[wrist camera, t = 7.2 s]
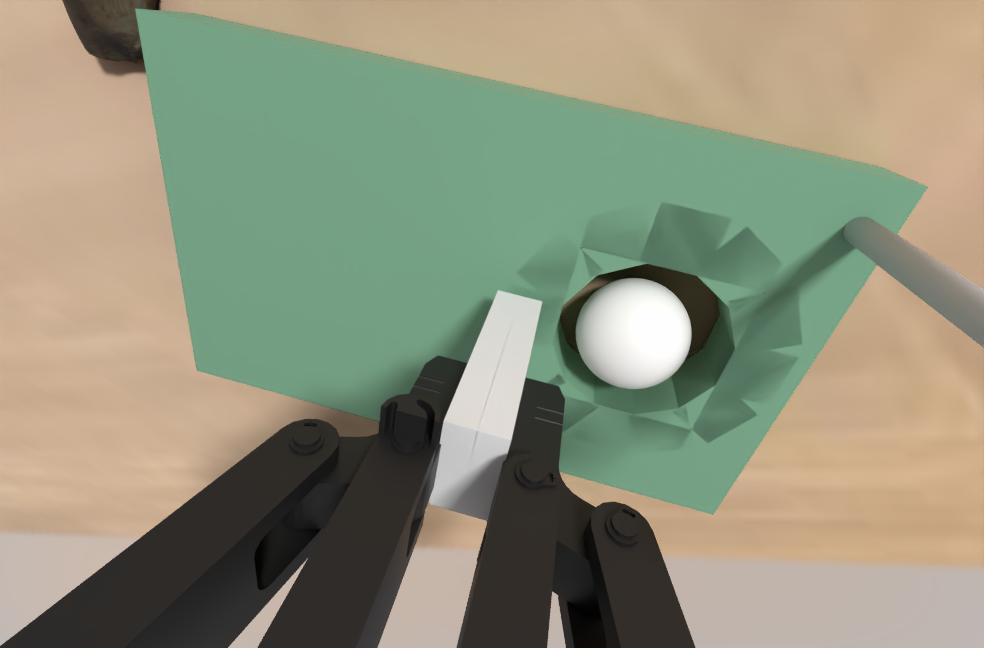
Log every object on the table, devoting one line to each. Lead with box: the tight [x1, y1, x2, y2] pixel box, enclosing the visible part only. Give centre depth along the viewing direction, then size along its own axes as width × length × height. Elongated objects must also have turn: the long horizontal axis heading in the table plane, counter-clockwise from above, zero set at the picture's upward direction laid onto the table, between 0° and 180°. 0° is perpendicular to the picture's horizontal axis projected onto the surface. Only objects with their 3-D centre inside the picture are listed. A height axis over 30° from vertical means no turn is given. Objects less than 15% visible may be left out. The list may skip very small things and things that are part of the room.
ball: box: [576, 278, 692, 389], centre depth 18 cm, size 4×4×4 cm
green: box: [135, 9, 984, 514], centre depth 13 cm, size 24×14×16 cm, turn 80°
